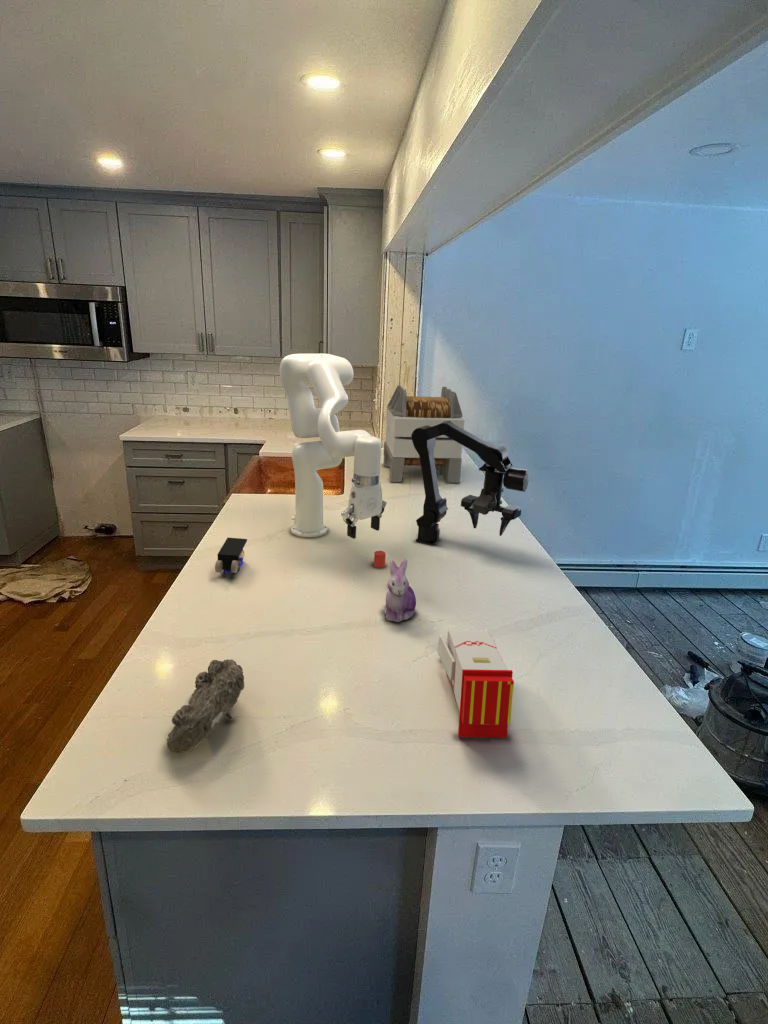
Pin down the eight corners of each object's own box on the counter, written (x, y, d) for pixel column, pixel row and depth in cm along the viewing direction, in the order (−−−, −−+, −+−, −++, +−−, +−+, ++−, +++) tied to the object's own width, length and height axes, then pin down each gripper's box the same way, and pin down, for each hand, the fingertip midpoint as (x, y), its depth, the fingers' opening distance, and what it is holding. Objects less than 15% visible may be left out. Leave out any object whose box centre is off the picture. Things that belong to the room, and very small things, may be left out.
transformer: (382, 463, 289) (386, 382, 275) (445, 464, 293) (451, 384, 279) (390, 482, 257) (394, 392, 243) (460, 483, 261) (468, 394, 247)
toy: (488, 613, 130) (523, 677, 101) (484, 667, 133) (517, 744, 104) (435, 612, 130) (455, 676, 101) (432, 666, 133) (451, 743, 103)
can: (386, 567, 174) (387, 554, 172) (375, 568, 173) (376, 555, 171) (382, 562, 177) (383, 550, 175) (372, 563, 176) (372, 551, 174)
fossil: (192, 660, 117) (244, 628, 112) (224, 691, 120) (276, 661, 115) (142, 746, 98) (202, 712, 93) (182, 779, 101) (242, 748, 96)
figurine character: (238, 584, 162) (249, 557, 175) (236, 562, 158) (247, 536, 172) (215, 584, 161) (227, 556, 175) (212, 561, 158) (225, 535, 171)
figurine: (392, 627, 141) (395, 572, 136) (374, 608, 149) (376, 556, 144) (425, 619, 145) (429, 566, 140) (405, 601, 154) (408, 550, 149)
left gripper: (352, 488, 156) (350, 544, 162) (396, 477, 168) (392, 530, 174) (335, 481, 161) (333, 536, 167) (378, 470, 172) (375, 522, 179)
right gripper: (454, 484, 177) (450, 531, 182) (509, 498, 167) (503, 547, 172) (471, 477, 185) (467, 522, 191) (524, 490, 175) (518, 536, 180)
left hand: (363, 533), depth 170 cm, fingers open, 9 cm apart
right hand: (487, 531), depth 183 cm, fingers open, 9 cm apart
